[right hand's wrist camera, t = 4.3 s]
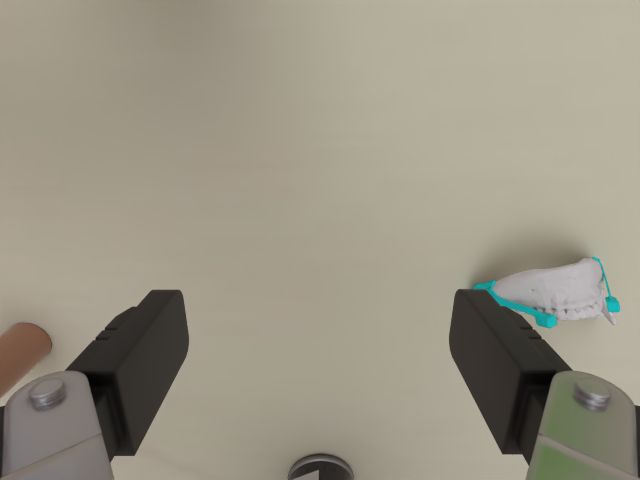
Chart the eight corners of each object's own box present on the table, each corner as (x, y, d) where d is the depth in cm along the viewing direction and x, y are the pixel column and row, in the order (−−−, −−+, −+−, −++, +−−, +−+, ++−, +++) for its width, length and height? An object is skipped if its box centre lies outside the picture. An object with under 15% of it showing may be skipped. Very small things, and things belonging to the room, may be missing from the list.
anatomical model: (663, 250, 33) (677, 355, 34) (586, 232, 43) (600, 313, 44) (487, 292, 34) (508, 390, 36) (453, 264, 44) (471, 342, 46)
